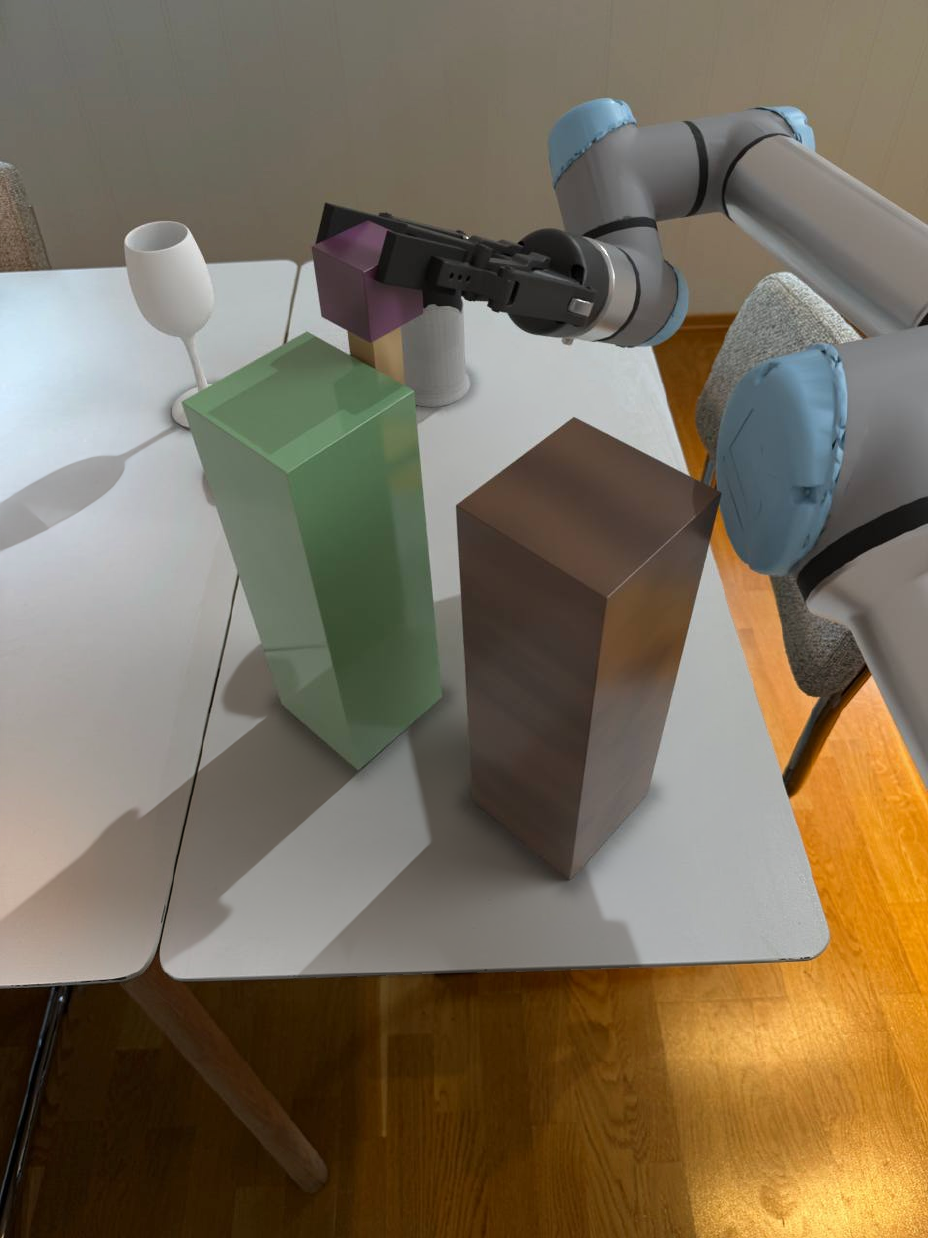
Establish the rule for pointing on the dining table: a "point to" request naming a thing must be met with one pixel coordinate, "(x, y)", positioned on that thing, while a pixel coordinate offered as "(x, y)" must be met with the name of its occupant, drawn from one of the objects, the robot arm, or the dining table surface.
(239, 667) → the dining table surface
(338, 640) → the green stand
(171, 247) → the wineglass
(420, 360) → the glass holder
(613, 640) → the stand
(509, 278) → the robot arm
